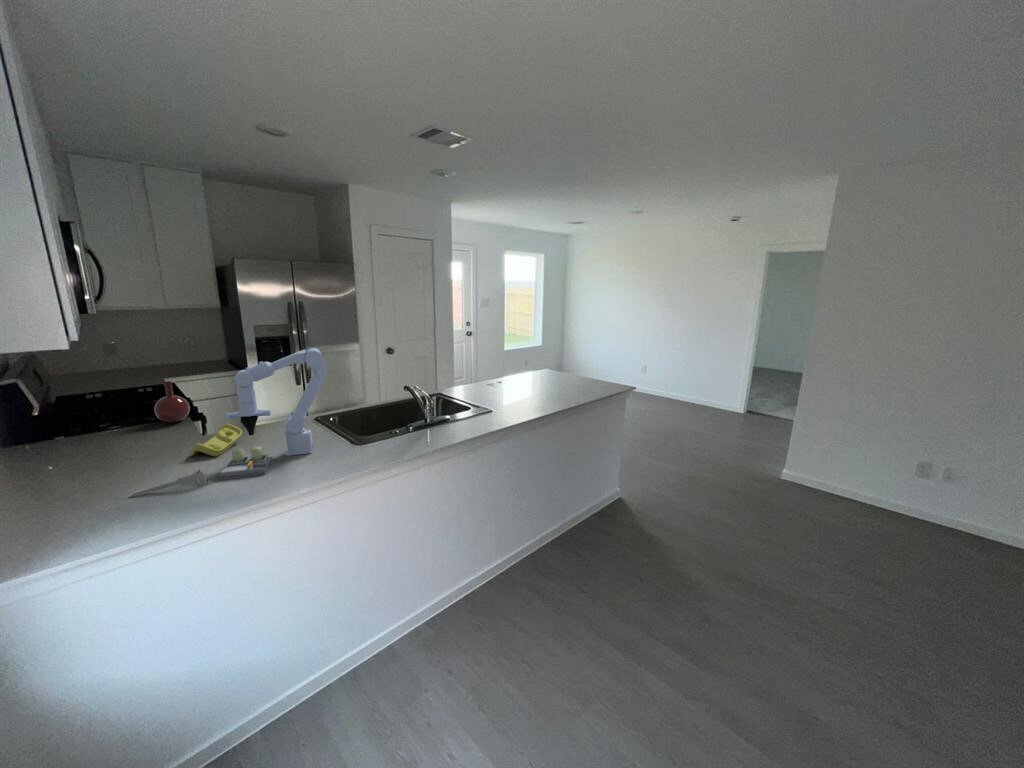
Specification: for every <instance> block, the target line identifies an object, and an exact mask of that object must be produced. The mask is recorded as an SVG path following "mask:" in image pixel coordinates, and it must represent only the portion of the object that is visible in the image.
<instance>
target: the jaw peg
mask: <svg viewBox="0 0 1024 768" xmlns="http://www.w3.org/2000/svg"><path fill="white" fill-rule="evenodd" d="M231 455H232V458H233V463H241V462H245V459H244V457H245V454H244V448H242V447H241V448H240V447H239V448H238V447H237V448H234V449H232V450H231Z"/></svg>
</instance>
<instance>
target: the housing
mask: <svg viewBox="0 0 1024 768" xmlns="http://www.w3.org/2000/svg"><path fill="white" fill-rule="evenodd" d="M250 454H251V455H249V456H247V455H246V456H244V459H245V462H241V463H233V457H232V458H231V459H230V460H229V462H228V463H227V465H226V466H223V467H222V468H221V469H220V471H219V472H218V474H219V476H218V479H219V480H227V479H236V478H237V479H238V478H243V477H244V478H245V477H247V478H248V477H254V476H262V475H263V476H264V475H266V473H267V471H268V469H269V467H270V465H271V463H272V462H273V456H269V454H263V447H262V446H253V447H251V448H250ZM250 461H253V469H247V470H238V471H229V472H222V470H223V469H224V468H227V467H237V466H246V465H248V463H249V462H250Z"/></svg>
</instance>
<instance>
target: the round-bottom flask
mask: <svg viewBox="0 0 1024 768" xmlns="http://www.w3.org/2000/svg"><path fill="white" fill-rule="evenodd" d="M163 385H164V389H165V394H166V396H163V397H161V398H160V399H158V400H157V401H156V403H155V405H154V410H153V411H154V414H155V416H156V417H157V418H158V419H159V420H161V421H162V422H166V423H178V422H180V421H182V420H184V419H185V418H187V417H188V415H189V414H190V411H191V407H190V404H189V402H188V400H187V399H185V397H182V396H179V395H174V391H173V381H171V380H170V381H163Z"/></svg>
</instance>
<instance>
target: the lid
mask: <svg viewBox="0 0 1024 768" xmlns="http://www.w3.org/2000/svg"><path fill="white" fill-rule="evenodd" d="M247 469H253V461H250V462H249V463H248V465H246V466H237V467H227V468H224V469H223V470H222V472H229V471H238V470H247Z"/></svg>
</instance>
